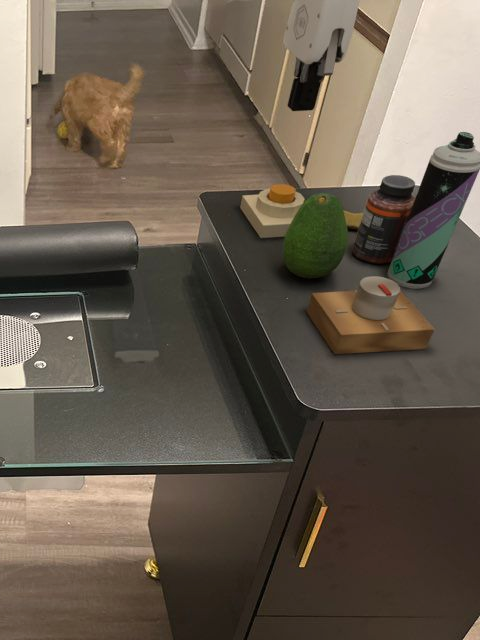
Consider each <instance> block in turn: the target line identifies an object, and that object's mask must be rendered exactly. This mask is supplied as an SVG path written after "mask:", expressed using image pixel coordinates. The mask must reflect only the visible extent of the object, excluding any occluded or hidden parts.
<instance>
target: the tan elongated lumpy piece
mask: <svg viewBox="0 0 480 640" xmlns="http://www.w3.org/2000/svg"><path fill="white" fill-rule="evenodd" d="M343 211H344V216H345V220H346V224H347V229H352V230H356V231H358V229H359V226H360V223H361V220H362V217H363V213H364V212H360V213H359V212H357V213H354V212H350V211H346V210H344V209H343Z"/></svg>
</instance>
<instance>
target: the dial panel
mask: <svg viewBox="0 0 480 640" xmlns="http://www.w3.org/2000/svg"><path fill="white" fill-rule="evenodd" d="M356 292H357V289H354V290H343V291H342V290H341V291H325V292H324V291H323V292H312V293H311V296H310V300H309V303H308V305H307V308H306V309H307V310H306V314H307V315H308V317H309V318H310V320H311V322H312V323H313V324H314V326H315V327H316V329H317V330H318V332H319V333H320V335H321V336H322V338H323V340H324V341H325V342H326V344H327V345H328V347H329V348H330V349H331V351H332V352H333V354H334V355H347V354H363V353H378V352H379V353H382V352H395V351H396V352H397V351H413V350H414V351H415V350H426V349H427V347H428V345H429V343H430V341H431V338H432V336H433V334H434V332H435V328H434V327H433V325H431V323H430V322H429V321H428V320H427V319H426V318H425V317H424V315H423V314H422V313H421V312H420V311H419V310H418V308H416V306H415V305H414V304H413V302H412V301H410V299H409V298H408V297H407V296H406V295H405V293H403V291H402V289H400V293H399V295H398V298H397V300H396V303H395V305H394V308H393V311H392V313H391V315H390V316H389V317H388V318H386V319H383V320H371V319H366V318H363V317H361V316H359V315H357V314H356V313H355V312H354V311H353V309H352V304H353V301H354V298H355V295H356Z"/></svg>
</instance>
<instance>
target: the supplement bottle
mask: <svg viewBox="0 0 480 640" xmlns="http://www.w3.org/2000/svg"><path fill="white" fill-rule="evenodd" d="M415 186H416V182H415V180H414V179H413V178H410V177H408V176H405V175H401V174H390V175H385V176H384V177H383V178H382V179H381V182H380V185H379V188H378V189H377V190H374V191H372V193H370V195H369V196H368V198H367V201H366V205H365V208H364V209H363V212H362V213H363V217H362V220H361V223H360V226H359V229H358V230H357V233H356V235H355V240H354V242H353V246H352V253H353V254H354V256H355V257H356V258H357V259H360V260H361V261H364V262H367V263H371V264H377V265H378V264H379V265H380V264H388V263H391V262H392V259H393V257H394V254H395V251H396V249H397V246H398V243H399V241H400V238H401V235H402V233H403V230H404V227H405V225H406V222H407V219H408V217H409V214H410V211H411V209H412V206H413V203H414V200H415V198H416V196H414V195H413V194H412V193H414V188H415Z"/></svg>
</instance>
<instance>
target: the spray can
mask: <svg viewBox="0 0 480 640" xmlns="http://www.w3.org/2000/svg"><path fill="white" fill-rule="evenodd" d="M474 139H475V137H474V135H473V134H472V133H470V132H467V131H460V132H458V133H457V136H456V138H455V139H453V140H451V141H449V142H448V144H446V145H441V146H438V147H436V148H434V149H433V152H432V154H431V155H430V158H429V161H428V163H427V166H426V169H425V172H424V174H423V176H422V180H421V182H420V185H419V187H418V190H417V193H416V195H415V200H414V203H413V206H412V209H411V211H410V214H409V217H408V219H407V222H406V225H405V227H404V230H403V233H402V235H401V238H400V241H399V243H398V246H397V249H396V251H395V254H394V257H393V259H392V262H390V264H389V268H388V270H387V274H386V275H387V279H390V280H392V281H394V282H395V283H397V284H398V285H399V287H403V288H407V289H417V290H419V289H425V288H428V287H430V286H431V285H432V282H433V280H434V278H435V277H436V273H437V271H438V269H439V266H440V264H441V262H442V259H443V258H444V255H445V252H446V250H447V248H448V245H449V243H450V241H451V239H452V237H453V234H454V231H455V229H456V227H457V225H458V222H459V219H460V218H461V215H462V214H463V213H462V212H463V210H464V207H465V205H466V203H467V201H468V198H469V197H470V196H469V195H470V194H471V191H472V189H473V186H474V184H475V182H476V180H477V177H478V175H479V172H480V151H478V150H477V149H476V145H475V142H474Z"/></svg>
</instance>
